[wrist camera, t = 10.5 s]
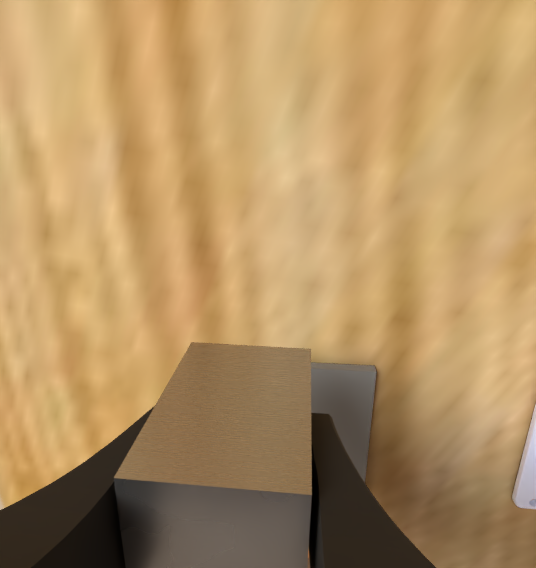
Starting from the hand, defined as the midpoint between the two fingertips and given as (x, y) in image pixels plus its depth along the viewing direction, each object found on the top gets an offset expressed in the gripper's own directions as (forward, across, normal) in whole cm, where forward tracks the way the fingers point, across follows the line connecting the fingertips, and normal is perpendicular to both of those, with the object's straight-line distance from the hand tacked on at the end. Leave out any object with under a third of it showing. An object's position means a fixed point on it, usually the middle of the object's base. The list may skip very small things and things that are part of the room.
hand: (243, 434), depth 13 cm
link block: (+2, 0, 0) cm, 2 cm away
